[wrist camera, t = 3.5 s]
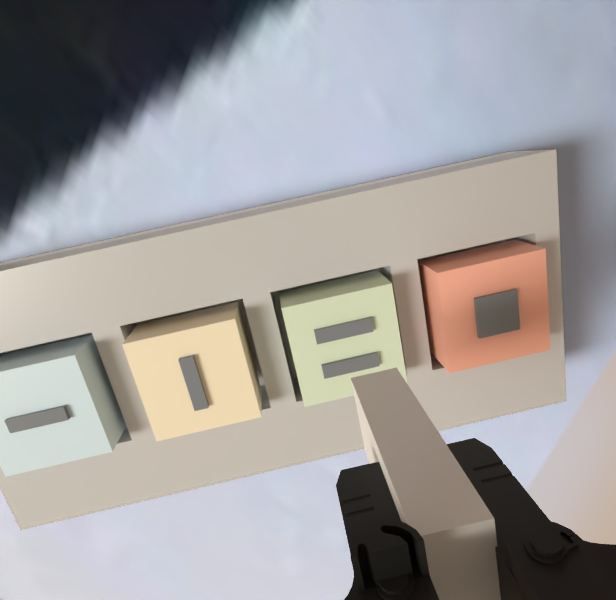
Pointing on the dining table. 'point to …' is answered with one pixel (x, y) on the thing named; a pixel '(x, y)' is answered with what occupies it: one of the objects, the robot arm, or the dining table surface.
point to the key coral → (486, 304)
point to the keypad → (280, 320)
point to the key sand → (194, 371)
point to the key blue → (56, 406)
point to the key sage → (341, 334)
